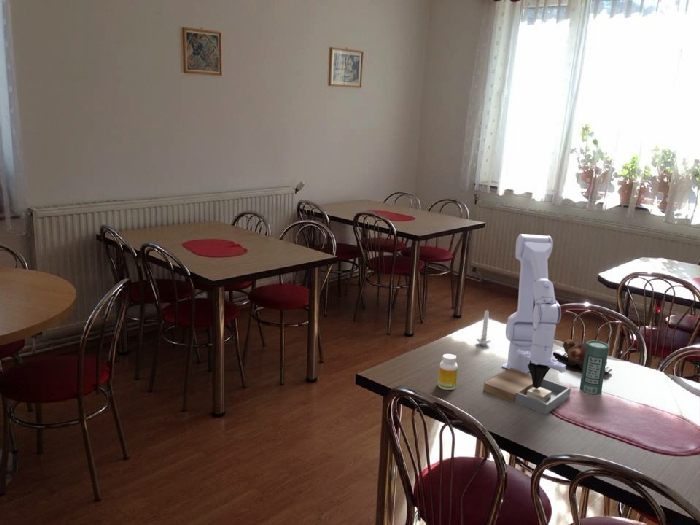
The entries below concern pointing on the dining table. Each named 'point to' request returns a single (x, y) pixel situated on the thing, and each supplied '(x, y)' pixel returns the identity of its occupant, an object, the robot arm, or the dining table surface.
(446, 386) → the supplement bottle
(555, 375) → the dining table surface
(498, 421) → the dining table surface
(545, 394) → the wooden tile
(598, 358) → the can
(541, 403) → the box
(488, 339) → the screw
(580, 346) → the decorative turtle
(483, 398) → the dining table surface
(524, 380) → the wooden board
